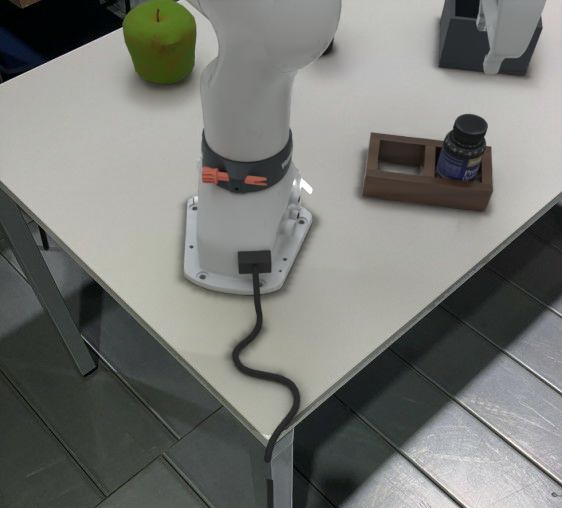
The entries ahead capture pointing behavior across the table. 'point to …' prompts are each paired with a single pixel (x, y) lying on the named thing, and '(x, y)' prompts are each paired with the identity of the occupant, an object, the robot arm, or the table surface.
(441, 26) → the open square box
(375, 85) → the table surface
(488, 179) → the brown wooden caddy
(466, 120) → the pill bottle
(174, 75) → the apple
